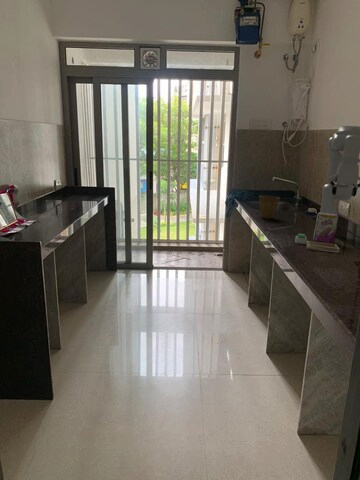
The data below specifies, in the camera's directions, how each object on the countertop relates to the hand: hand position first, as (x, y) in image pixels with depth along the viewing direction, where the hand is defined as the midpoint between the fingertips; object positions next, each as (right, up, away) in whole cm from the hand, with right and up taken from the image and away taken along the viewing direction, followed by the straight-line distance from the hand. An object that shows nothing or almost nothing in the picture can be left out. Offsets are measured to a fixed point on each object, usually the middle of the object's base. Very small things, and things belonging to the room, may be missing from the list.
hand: (343, 195), depth 183 cm
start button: (-15, -23, +21) cm, 34 cm away
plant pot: (-18, -6, +86) cm, 89 cm away
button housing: (-15, -24, +21) cm, 35 cm away
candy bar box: (0, -24, +27) cm, 36 cm away
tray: (-7, -28, +11) cm, 30 cm away
